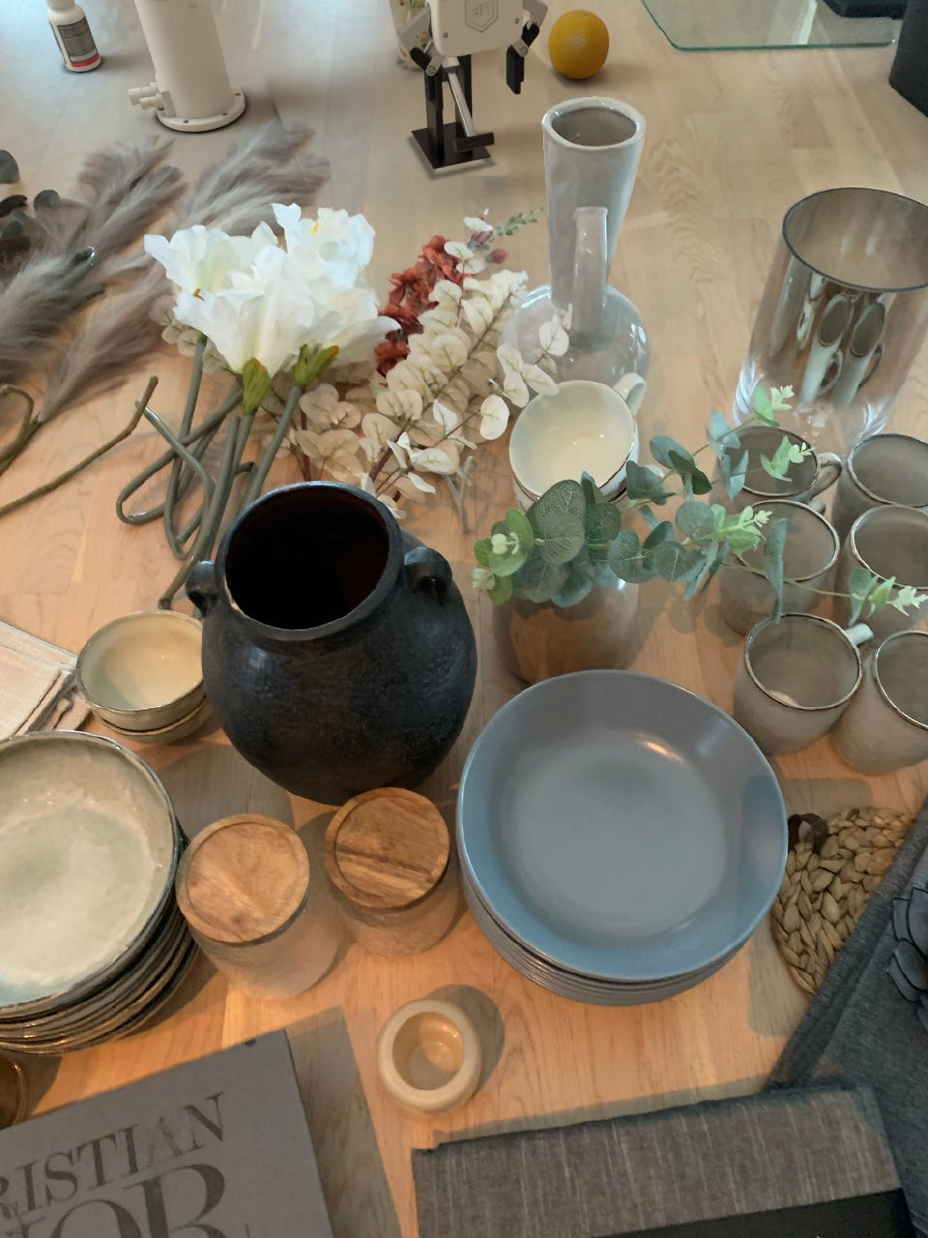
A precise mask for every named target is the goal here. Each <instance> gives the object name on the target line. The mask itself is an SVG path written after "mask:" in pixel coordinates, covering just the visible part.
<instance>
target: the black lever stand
mask: <svg viewBox="0 0 928 1238" xmlns="http://www.w3.org/2000/svg"><path fill="white" fill-rule="evenodd" d="M427 44H428V43H427ZM427 44H422V51H424V49H425V48H426V46H427ZM457 59H458V61H459V64H460V66H459V73H458V81H459V84H460V86H461V89H462V92H463V95H464V98H465V101H466V104H467V107H468V110H469V113H470V116H471V118H472V121H474V119H473V75H472V74H473V73H472V71H473V70H472V54H468V55H463V56H457ZM422 70H423V69H422ZM438 71H439V72H440V74H441V65H440V67H439V68H438ZM423 72H424V70H423ZM423 81H424V84H425V77H424V76H423ZM424 98H425V113H426V127H424V128H418V129H414V130H410V132H411V134H412V136H413V137H414V139H415V141H416V142H417V144H418V146H419V147H420V149H421V151H422V152H423V154H424V156H425V158H426V159H427V161H428V162H429V165H430V166H431V167H432V169H433V170H436V169H441V168H445V167H450V166H454V165H459V164H464V163H469V162H473V161H478V160H483V159H488V158H491V157H492V155H491V154H490V152H489V151H488V149H487V148H486V147H481V148H476V149H472V150H467V151H462V152H458V153H456V152H455V150H454V147H453V140H455V139H460V138H465V137H466V134H465V131H464V128H463V125H462V122H461V119H460V117H459V114H458V111H457V108H456V105H455V104H454V116H455V117H454V118H455V119H454V120H455V121H452V122H448V123H444V108H443V109H442V111H439V112H437V110H436V109H435V107H434V106H433V104H432V103H431V102H429V101H428V100H427V97H426V91H425V90H424Z"/></svg>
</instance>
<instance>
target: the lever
mask: <svg viewBox="0 0 928 1238" xmlns="http://www.w3.org/2000/svg"><path fill="white" fill-rule="evenodd" d="M459 66H460V64H459V61H458V59H457V57H445V58H444V60H443V62H442V63H441V76H442V83H445V82H447V84H448V87H449V90H450V93H451V96H452V99H453V102H454V106H455V105H456V108H457V111H458V114H459V117H460V119H461V122H462V125H463V128H464V131H465V134H466V137H465V138H460V139H455V140H453V147H454V150H455V152H456V153H458V152H462V151H467V150H472V149H476V148H481V147H485V148H486V147H489V146H494V145H495V143H496V137H495V134H494V132H493V131H489V132H484V133H479V134H478V133H477V130H476V128H475V124H474V122H473V121H474V120H473V117H472V118H471V116H470V113H469V110H468V107H467V104H466V101H465V98H464V95H463V92H462V89H461V86H460V84H459V81H458V73H459ZM472 120H473V121H472Z"/></svg>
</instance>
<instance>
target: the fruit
mask: <svg viewBox="0 0 928 1238" xmlns="http://www.w3.org/2000/svg"><path fill="white" fill-rule="evenodd" d="M548 35H549V36H548V39H547V49H548V55H549V59H550V62H551V65H552V68H554V70H555V71H556V72H557V73H558V74H560V75H561V76H563V77H565V78H568V79H572V80H584V79H588V78H590V77H592V76H594V75H595V74H597V73H598V72H599V71H600V70H601V69H602V68H603V66H604V65H605V63H606V61H607V58H608V55H609V51H610V50H609V49H610V33H609V30H608V27H607V26H606V24H605V22H604V21H603V20H602V19H601V17H599V16H598V15H597V14H595V13H594V12H591V11H589V10H586V9H574V10H569V11H567V12H564V13H563V14H562V15H561V16H559V18H557V19H556V20H555V22H554V24H553V25H552V27H551V28H550V32H549V34H548Z"/></svg>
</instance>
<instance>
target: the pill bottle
mask: <svg viewBox="0 0 928 1238" xmlns="http://www.w3.org/2000/svg"><path fill="white" fill-rule="evenodd" d="M45 2H46V5H47V7H49V8H48V10H47V12H46V18H47V21H48V24H49V26H50V30H51V32H52V34H53V37H54V39H55V42H56V45H57V47H58V49H59V52H60V55H61V57H62V60H63V62H64V65H65V67H66V68H67V69H68V70H69V71H71V72H78V73H79V72H88V71H90V70H93V69H95V68H97V67H98V66H99V65H100V63H101V56H100V53H99V50H98V47H97V45H96V41H95V39H94V36H93V33H92V31H91V28H90V25H89V22H88V19H87V16H86V13H85V11H84V9H83V7H82V6H81V5H80V4H78V3H75V2H76V0H45Z"/></svg>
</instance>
